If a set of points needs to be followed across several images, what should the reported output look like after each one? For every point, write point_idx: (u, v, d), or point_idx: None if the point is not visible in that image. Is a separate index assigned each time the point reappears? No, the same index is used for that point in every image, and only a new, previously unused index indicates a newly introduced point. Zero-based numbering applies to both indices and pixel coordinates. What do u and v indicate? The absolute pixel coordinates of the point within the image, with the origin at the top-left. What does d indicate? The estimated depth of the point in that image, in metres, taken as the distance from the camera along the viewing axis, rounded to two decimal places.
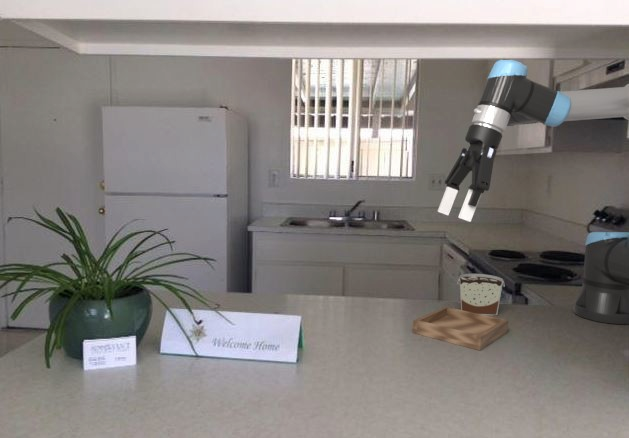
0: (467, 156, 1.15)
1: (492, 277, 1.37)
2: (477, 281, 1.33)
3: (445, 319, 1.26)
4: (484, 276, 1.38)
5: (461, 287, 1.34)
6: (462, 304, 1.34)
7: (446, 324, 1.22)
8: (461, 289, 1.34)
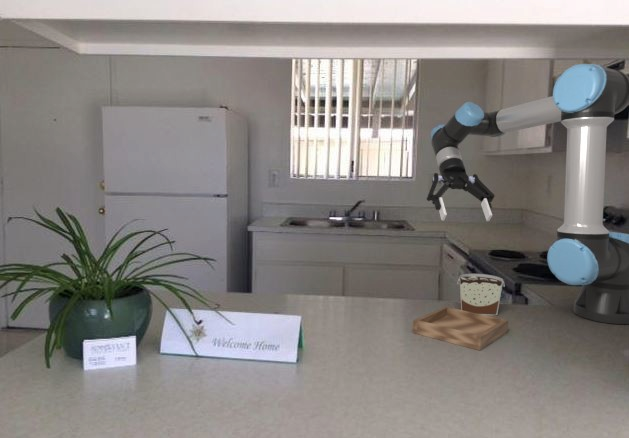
0: None
1: (492, 277, 1.37)
2: (477, 281, 1.33)
3: (445, 319, 1.26)
4: (484, 276, 1.38)
5: (461, 287, 1.34)
6: (462, 304, 1.34)
7: (446, 324, 1.22)
8: (461, 289, 1.34)
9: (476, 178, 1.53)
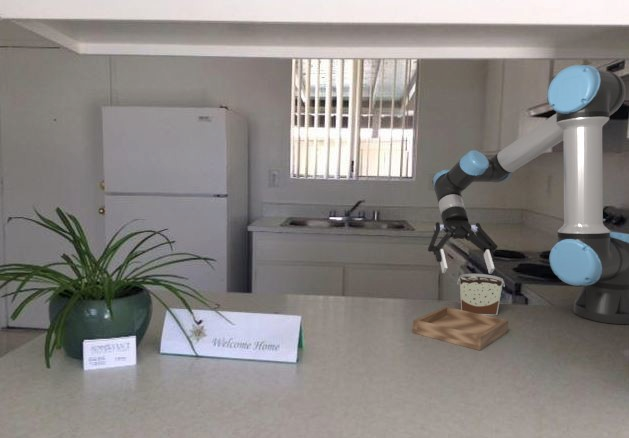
0: None
1: (492, 277, 1.37)
2: (477, 281, 1.33)
3: (445, 319, 1.26)
4: (484, 276, 1.38)
5: (461, 287, 1.34)
6: (462, 304, 1.34)
7: (446, 324, 1.22)
8: (461, 289, 1.34)
9: (479, 227, 1.50)
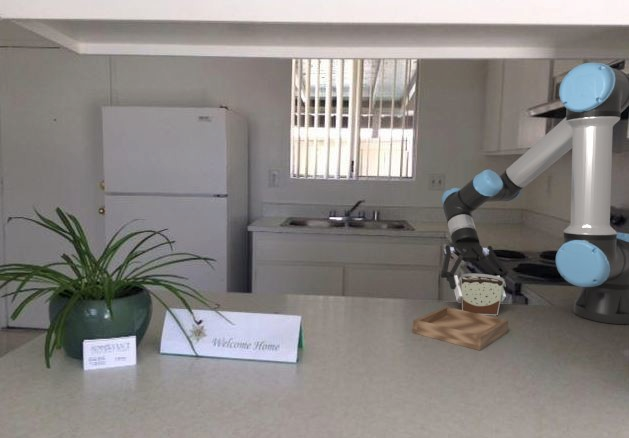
0: None
1: (493, 277, 1.37)
2: (478, 281, 1.33)
3: (445, 319, 1.26)
4: (485, 276, 1.38)
5: (462, 287, 1.34)
6: (463, 304, 1.34)
7: (446, 324, 1.22)
8: (462, 289, 1.34)
9: (491, 251, 1.43)
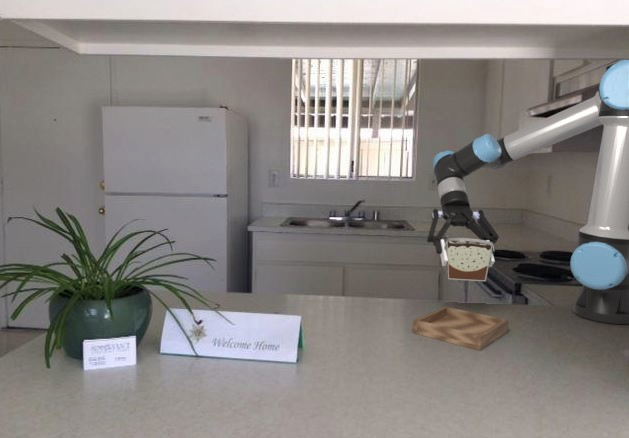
0: None
1: (481, 241, 1.30)
2: (465, 245, 1.27)
3: (445, 319, 1.26)
4: (473, 240, 1.31)
5: (448, 251, 1.27)
6: (449, 269, 1.28)
7: (446, 324, 1.22)
8: (448, 253, 1.27)
9: (481, 215, 1.36)
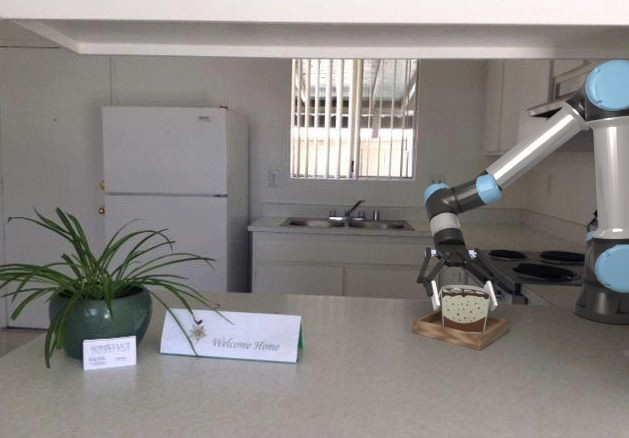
0: None
1: (478, 289, 1.19)
2: (461, 294, 1.15)
3: None
4: (469, 288, 1.20)
5: (443, 301, 1.15)
6: (444, 321, 1.16)
7: None
8: (443, 303, 1.15)
9: (478, 253, 1.25)
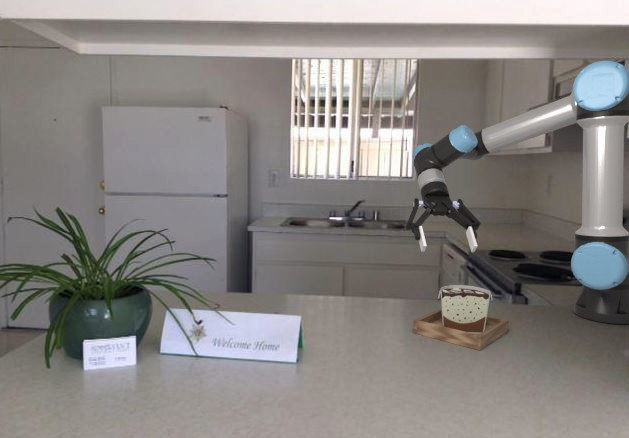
0: None
1: (478, 289, 1.18)
2: (461, 294, 1.15)
3: None
4: (468, 288, 1.20)
5: (443, 301, 1.15)
6: (444, 321, 1.16)
7: None
8: (443, 304, 1.15)
9: (461, 203, 1.39)
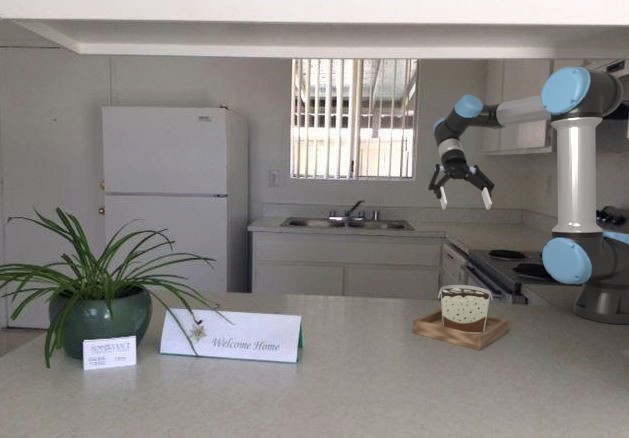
0: None
1: (478, 289, 1.18)
2: (461, 294, 1.15)
3: None
4: (468, 288, 1.20)
5: (443, 301, 1.15)
6: (444, 321, 1.16)
7: None
8: (443, 304, 1.15)
9: (477, 168, 1.58)
